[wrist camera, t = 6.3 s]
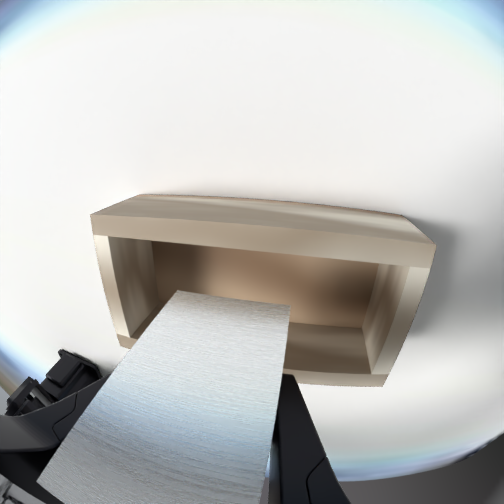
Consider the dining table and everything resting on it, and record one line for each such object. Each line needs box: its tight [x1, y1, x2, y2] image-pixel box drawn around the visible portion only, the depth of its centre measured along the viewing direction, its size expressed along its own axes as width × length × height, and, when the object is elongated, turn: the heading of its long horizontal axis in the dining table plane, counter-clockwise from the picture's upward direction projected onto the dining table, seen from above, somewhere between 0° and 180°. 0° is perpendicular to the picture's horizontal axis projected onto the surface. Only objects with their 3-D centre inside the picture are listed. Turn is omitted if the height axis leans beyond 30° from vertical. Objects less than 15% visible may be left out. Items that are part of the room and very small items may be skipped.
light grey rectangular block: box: [36, 290, 291, 504], centre depth 6 cm, size 4×4×8 cm
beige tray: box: [90, 195, 437, 387], centre depth 13 cm, size 8×15×4 cm, turn 88°
